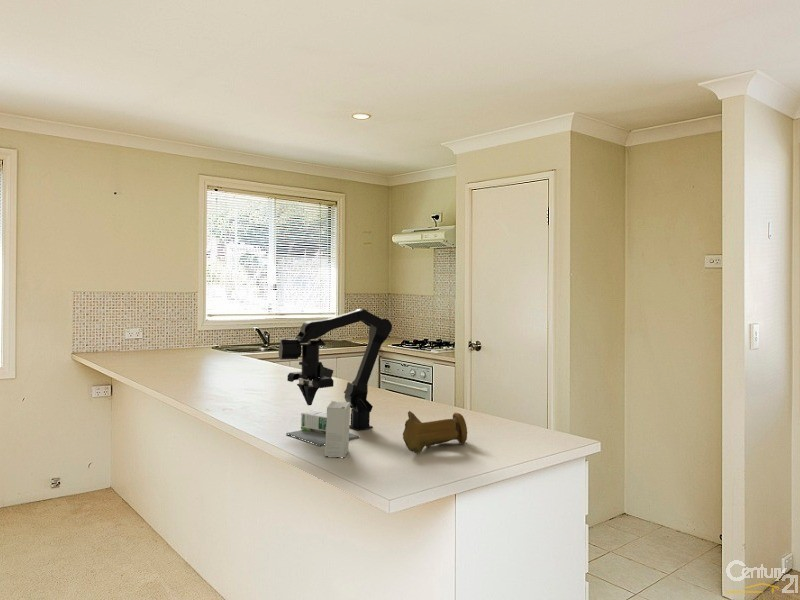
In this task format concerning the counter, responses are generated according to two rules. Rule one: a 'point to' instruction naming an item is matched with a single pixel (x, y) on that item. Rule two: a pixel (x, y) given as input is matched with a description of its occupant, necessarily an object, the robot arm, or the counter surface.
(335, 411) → the skincare box
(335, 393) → the counter surface
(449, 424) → the brown flanged cylinder
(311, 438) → the mat
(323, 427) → the syrup box
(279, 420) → the counter surface
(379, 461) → the counter surface
